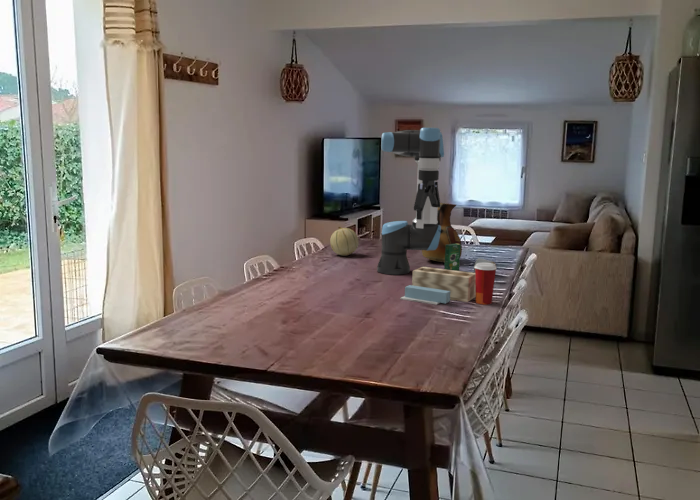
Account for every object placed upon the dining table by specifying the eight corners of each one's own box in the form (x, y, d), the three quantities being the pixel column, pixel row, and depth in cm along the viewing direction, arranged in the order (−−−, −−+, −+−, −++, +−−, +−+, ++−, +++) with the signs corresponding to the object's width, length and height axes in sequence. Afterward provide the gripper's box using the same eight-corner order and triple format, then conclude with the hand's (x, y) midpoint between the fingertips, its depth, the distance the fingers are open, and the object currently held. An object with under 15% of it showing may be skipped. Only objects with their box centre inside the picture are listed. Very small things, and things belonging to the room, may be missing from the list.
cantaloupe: (358, 258, 331) (358, 229, 329) (329, 257, 332) (329, 228, 329) (358, 253, 346) (358, 225, 343) (330, 252, 346) (331, 224, 343)
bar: (450, 301, 246) (450, 291, 246) (445, 303, 243) (446, 293, 242) (409, 294, 255) (409, 285, 255) (404, 296, 252) (405, 286, 251)
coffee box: (455, 270, 307) (456, 242, 304) (459, 271, 305) (461, 243, 302) (443, 272, 302) (444, 244, 299) (448, 273, 299) (449, 245, 297)
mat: (409, 295, 258) (409, 293, 258) (444, 300, 250) (444, 298, 250) (400, 299, 251) (400, 297, 251) (436, 304, 244) (436, 303, 243)
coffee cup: (495, 301, 250) (498, 263, 248) (493, 306, 243) (495, 267, 240) (474, 299, 253) (476, 261, 250) (470, 304, 245) (472, 265, 243)
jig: (475, 296, 257) (477, 273, 255) (467, 302, 248) (468, 277, 246) (421, 289, 268) (422, 266, 266) (411, 294, 259) (412, 270, 258)
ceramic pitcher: (467, 260, 330) (470, 202, 324) (451, 267, 313) (454, 205, 308) (432, 256, 340) (434, 199, 335) (414, 262, 323) (416, 202, 318)
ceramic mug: (489, 278, 290) (490, 261, 289) (473, 275, 295) (474, 259, 294) (499, 275, 298) (501, 258, 297) (483, 272, 303) (484, 256, 302)
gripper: (431, 167, 254) (429, 221, 258) (405, 170, 233) (404, 229, 237) (450, 168, 251) (447, 222, 255) (425, 171, 229) (423, 231, 233)
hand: (426, 226), depth 246 cm, fingers open, 13 cm apart
